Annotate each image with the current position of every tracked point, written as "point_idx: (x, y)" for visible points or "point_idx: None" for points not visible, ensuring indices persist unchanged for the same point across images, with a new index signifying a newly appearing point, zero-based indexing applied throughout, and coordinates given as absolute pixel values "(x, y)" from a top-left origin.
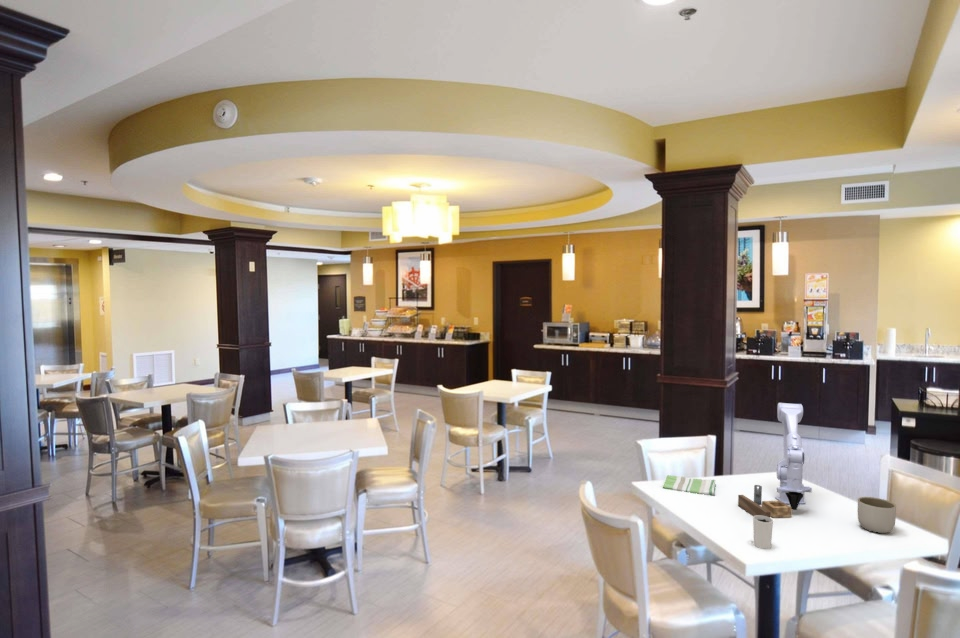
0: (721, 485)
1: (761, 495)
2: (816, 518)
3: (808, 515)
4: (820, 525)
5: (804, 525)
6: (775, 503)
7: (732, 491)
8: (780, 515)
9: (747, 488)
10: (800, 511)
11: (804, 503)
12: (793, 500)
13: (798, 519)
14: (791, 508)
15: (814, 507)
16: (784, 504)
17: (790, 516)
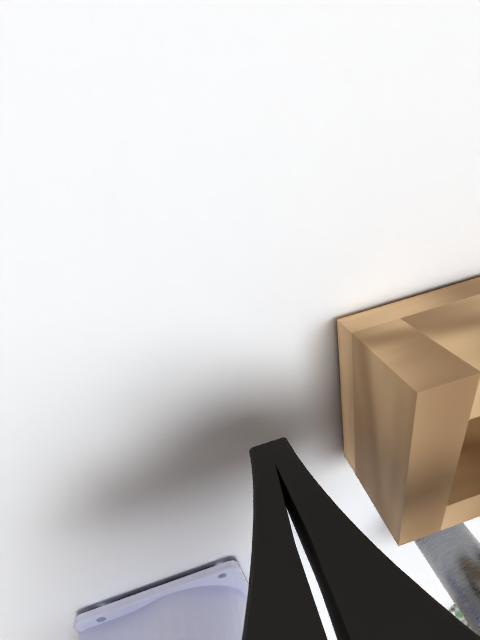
0: None
1: (459, 581)
2: (38, 357)
3: (118, 417)
4: (22, 52)
5: (315, 23)
6: (465, 481)
7: (427, 588)
8: (475, 291)
9: (333, 637)
10: (168, 482)
11: (83, 613)
12: (390, 566)
13: (283, 275)
14: (410, 381)
15: (10, 588)
16: (429, 470)
17: (351, 318)
